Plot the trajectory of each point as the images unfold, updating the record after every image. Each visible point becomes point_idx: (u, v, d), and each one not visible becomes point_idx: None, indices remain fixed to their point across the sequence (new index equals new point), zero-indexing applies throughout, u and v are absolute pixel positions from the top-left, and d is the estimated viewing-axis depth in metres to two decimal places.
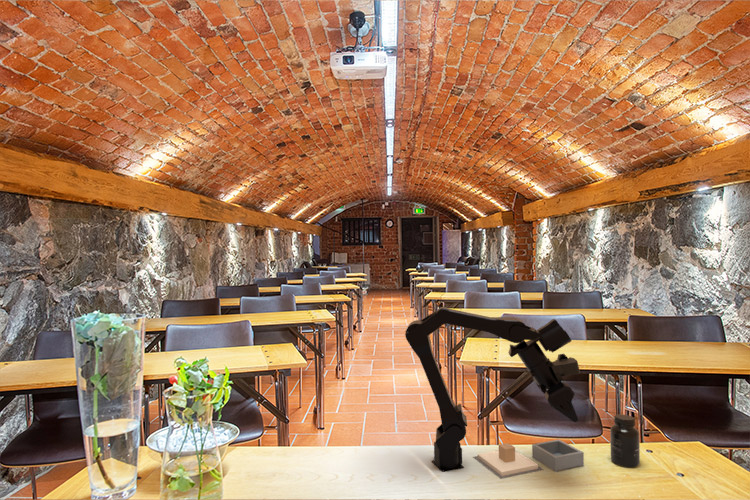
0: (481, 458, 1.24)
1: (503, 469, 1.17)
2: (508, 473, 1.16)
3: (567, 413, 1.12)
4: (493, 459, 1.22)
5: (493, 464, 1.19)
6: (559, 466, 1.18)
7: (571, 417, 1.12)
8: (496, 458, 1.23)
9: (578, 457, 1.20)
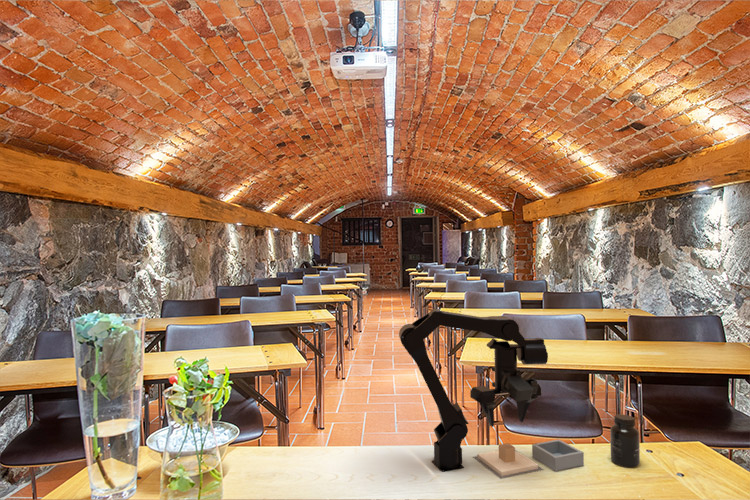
0: (481, 458, 1.24)
1: (503, 469, 1.17)
2: (508, 473, 1.16)
3: (486, 413, 1.21)
4: (493, 459, 1.22)
5: (493, 464, 1.19)
6: (559, 466, 1.18)
7: (488, 419, 1.21)
8: (496, 458, 1.23)
9: (578, 457, 1.20)
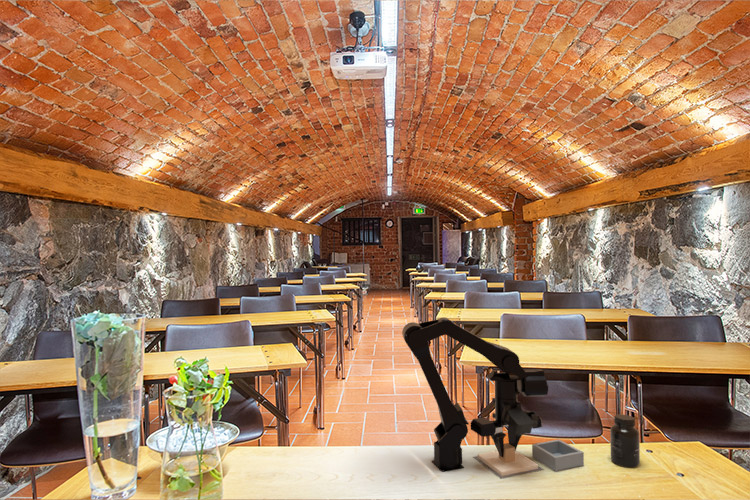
0: (481, 458, 1.24)
1: (503, 469, 1.17)
2: (508, 473, 1.16)
3: (496, 444, 1.22)
4: (493, 459, 1.22)
5: (493, 464, 1.19)
6: (559, 466, 1.18)
7: (498, 449, 1.22)
8: (496, 458, 1.23)
9: (578, 457, 1.20)
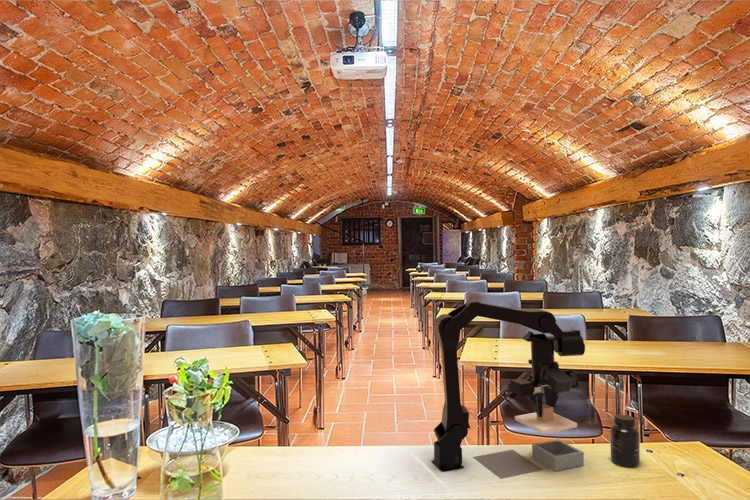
0: (519, 419, 1.24)
1: (543, 428, 1.17)
2: (548, 431, 1.17)
3: (534, 404, 1.23)
4: (532, 420, 1.23)
5: (532, 424, 1.20)
6: (559, 466, 1.18)
7: (536, 410, 1.23)
8: (534, 419, 1.24)
9: (578, 457, 1.20)
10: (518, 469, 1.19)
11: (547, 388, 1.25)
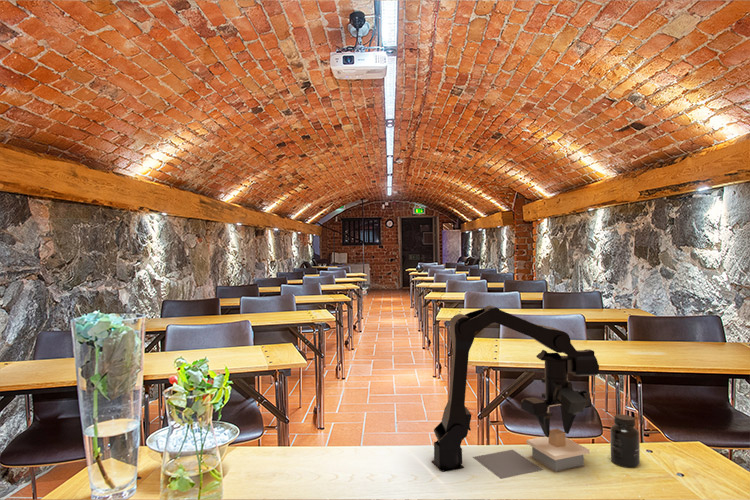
0: (531, 443, 1.25)
1: (555, 454, 1.17)
2: (561, 457, 1.17)
3: (541, 424, 1.22)
4: (544, 445, 1.23)
5: (544, 449, 1.20)
6: (559, 466, 1.18)
7: (543, 430, 1.22)
8: (546, 443, 1.24)
9: (578, 457, 1.20)
10: (518, 469, 1.19)
11: (564, 406, 1.26)
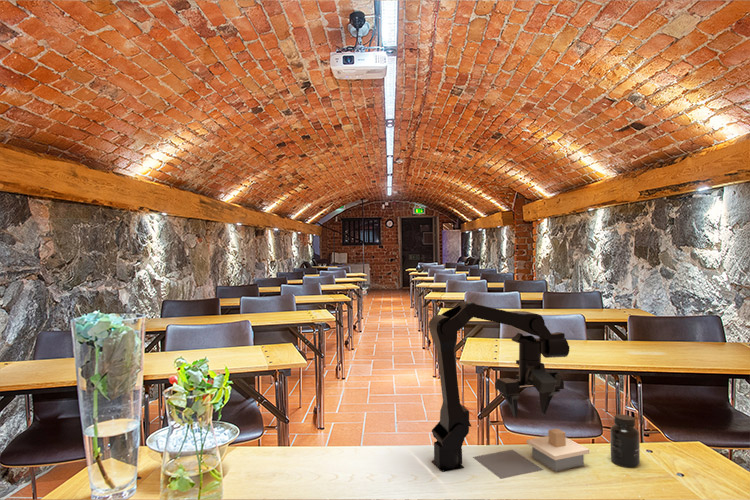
0: (531, 443, 1.25)
1: (555, 454, 1.17)
2: (561, 457, 1.17)
3: (510, 405, 1.26)
4: (544, 445, 1.23)
5: (544, 449, 1.20)
6: (559, 466, 1.18)
7: (511, 410, 1.26)
8: (546, 443, 1.24)
9: (578, 457, 1.20)
10: (518, 469, 1.19)
11: None
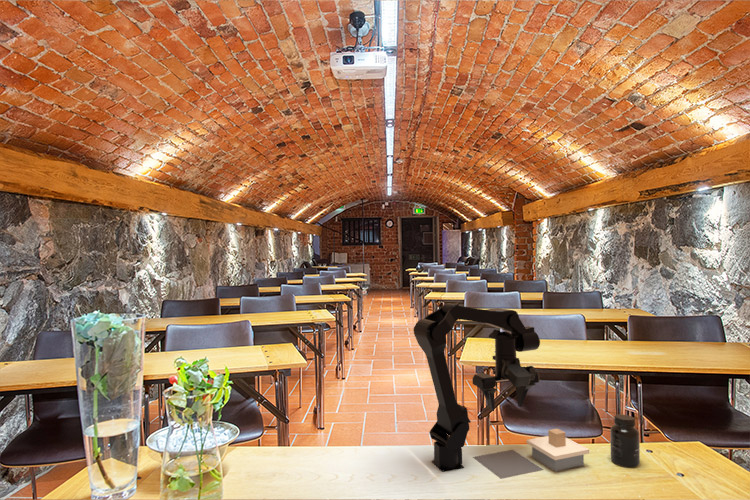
0: (531, 443, 1.25)
1: (555, 454, 1.17)
2: (561, 457, 1.17)
3: (487, 399, 1.30)
4: (544, 445, 1.23)
5: (544, 449, 1.20)
6: (559, 466, 1.18)
7: (489, 404, 1.29)
8: (546, 443, 1.24)
9: (578, 457, 1.20)
10: (518, 469, 1.19)
11: None
